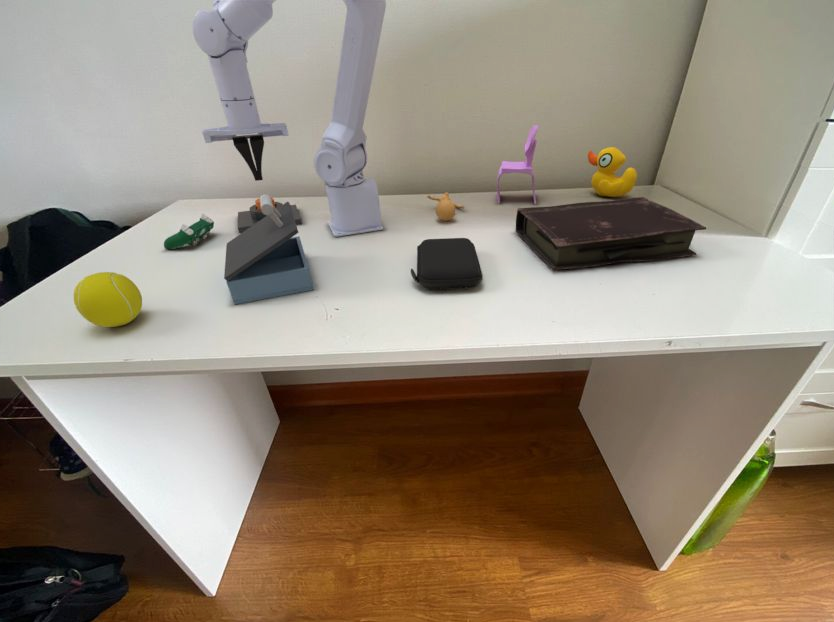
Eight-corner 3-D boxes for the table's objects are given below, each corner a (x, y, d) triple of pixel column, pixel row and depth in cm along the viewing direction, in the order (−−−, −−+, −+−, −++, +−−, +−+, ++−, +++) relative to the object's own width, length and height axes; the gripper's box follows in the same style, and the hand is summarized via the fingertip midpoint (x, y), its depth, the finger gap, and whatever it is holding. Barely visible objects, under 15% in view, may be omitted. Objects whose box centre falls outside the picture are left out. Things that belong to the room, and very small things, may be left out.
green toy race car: (178, 260, 77) (190, 240, 73) (159, 245, 75) (171, 224, 72) (209, 241, 84) (221, 221, 80) (193, 227, 83) (204, 207, 79)
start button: (275, 204, 87) (273, 196, 86) (276, 209, 85) (274, 201, 84) (257, 207, 86) (254, 198, 85) (257, 212, 84) (255, 203, 83)
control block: (296, 209, 93) (293, 196, 91) (301, 224, 85) (298, 209, 83) (239, 217, 89) (235, 203, 88) (239, 233, 82) (234, 218, 80)
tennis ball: (86, 342, 53) (54, 293, 49) (97, 315, 58) (69, 269, 54) (148, 328, 55) (123, 281, 51) (153, 304, 60) (131, 259, 56)
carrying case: (411, 253, 73) (410, 295, 61) (410, 236, 71) (409, 276, 59) (473, 250, 73) (483, 292, 61) (473, 233, 71) (484, 273, 59)
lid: (290, 204, 67) (271, 180, 64) (298, 232, 57) (277, 205, 54) (229, 246, 68) (207, 224, 65) (227, 281, 58) (201, 257, 55)
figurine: (427, 200, 80) (433, 171, 88) (419, 226, 85) (425, 196, 92) (468, 213, 81) (470, 183, 89) (458, 238, 86) (461, 207, 94)
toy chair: (496, 193, 98) (501, 122, 89) (534, 194, 97) (543, 122, 88) (495, 205, 92) (500, 129, 83) (536, 206, 91) (545, 129, 82)
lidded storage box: (303, 256, 73) (299, 236, 71) (313, 290, 63) (308, 268, 61) (235, 267, 70) (228, 246, 68) (234, 304, 60) (226, 282, 58)
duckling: (576, 194, 97) (584, 147, 91) (585, 188, 100) (594, 142, 94) (626, 203, 91) (638, 153, 85) (634, 196, 94) (646, 148, 88)
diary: (513, 231, 79) (516, 205, 76) (634, 219, 83) (641, 193, 80) (554, 275, 65) (559, 244, 62) (699, 258, 68) (710, 228, 65)
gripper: (278, 94, 79) (294, 170, 87) (195, 99, 75) (220, 178, 83) (281, 98, 74) (298, 178, 82) (191, 103, 70) (218, 187, 78)
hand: (258, 179), depth 82 cm, fingers closed
